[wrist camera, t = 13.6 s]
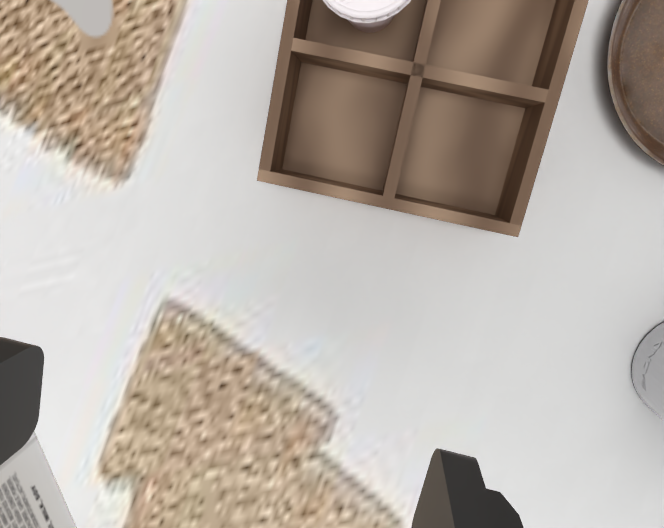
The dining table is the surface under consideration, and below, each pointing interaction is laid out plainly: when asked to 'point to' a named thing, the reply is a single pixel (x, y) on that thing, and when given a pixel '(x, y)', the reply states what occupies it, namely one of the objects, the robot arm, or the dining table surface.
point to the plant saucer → (639, 72)
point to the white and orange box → (31, 491)
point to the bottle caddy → (421, 106)
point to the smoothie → (367, 12)
